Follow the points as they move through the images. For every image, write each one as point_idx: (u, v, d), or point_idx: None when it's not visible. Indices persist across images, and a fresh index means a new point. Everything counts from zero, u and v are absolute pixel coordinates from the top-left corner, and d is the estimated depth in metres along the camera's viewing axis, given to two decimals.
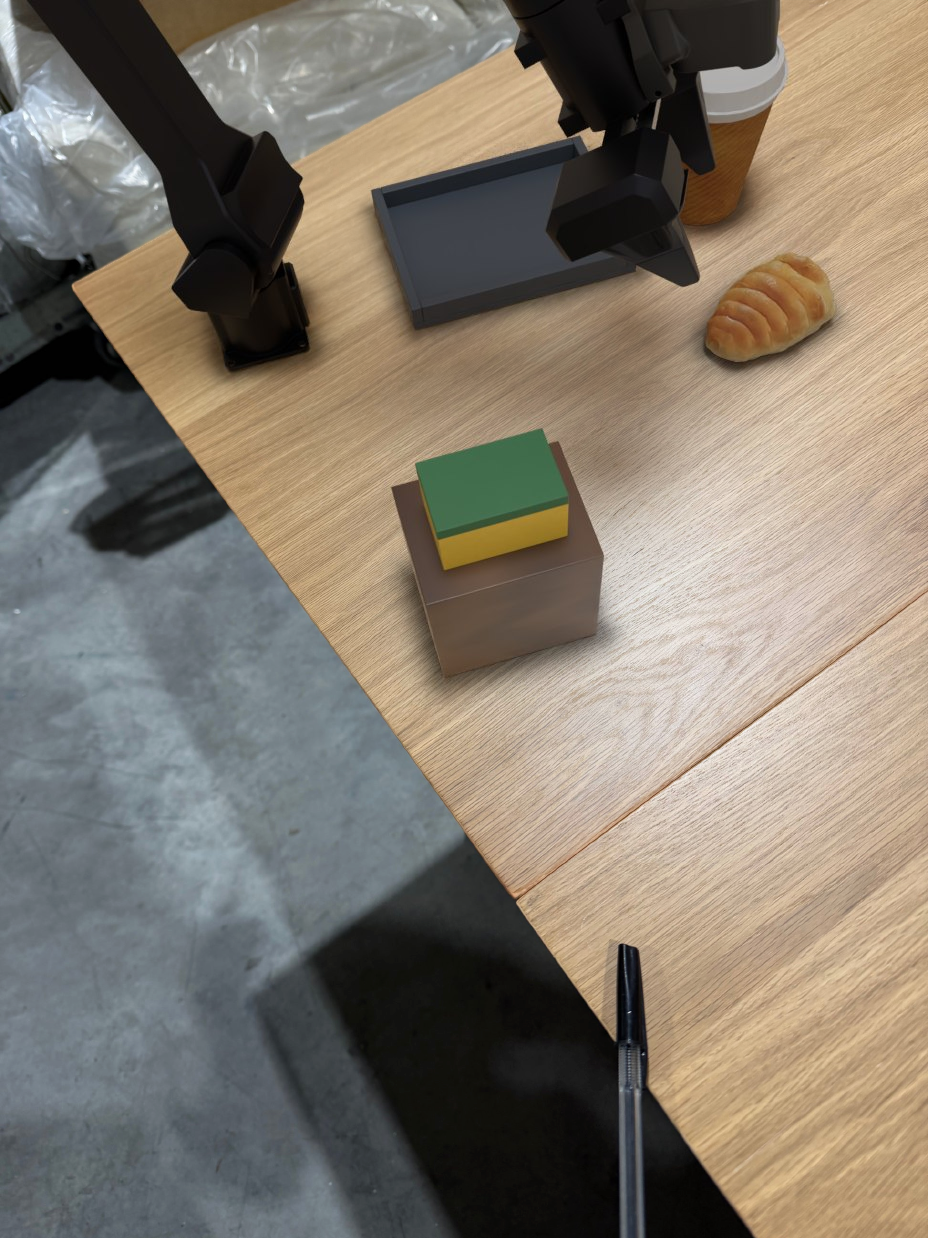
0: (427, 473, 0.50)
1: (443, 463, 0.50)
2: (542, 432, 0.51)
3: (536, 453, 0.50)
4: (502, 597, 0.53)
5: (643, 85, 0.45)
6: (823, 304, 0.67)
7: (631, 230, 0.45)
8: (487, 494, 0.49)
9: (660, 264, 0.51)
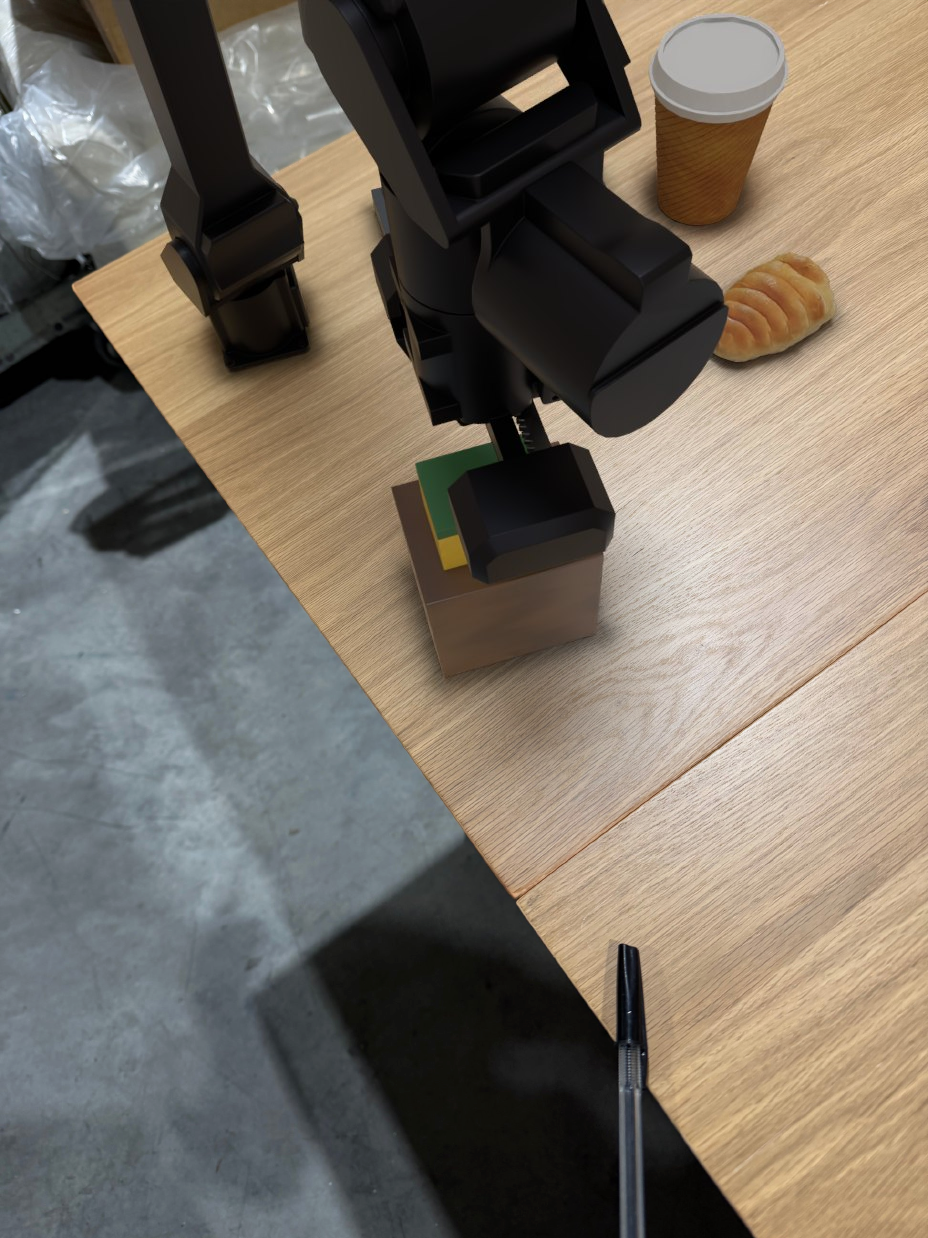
0: (427, 473, 0.50)
1: (443, 463, 0.50)
2: None
3: None
4: (502, 597, 0.53)
5: (545, 390, 0.40)
6: (823, 304, 0.67)
7: (569, 556, 0.40)
8: None
9: None
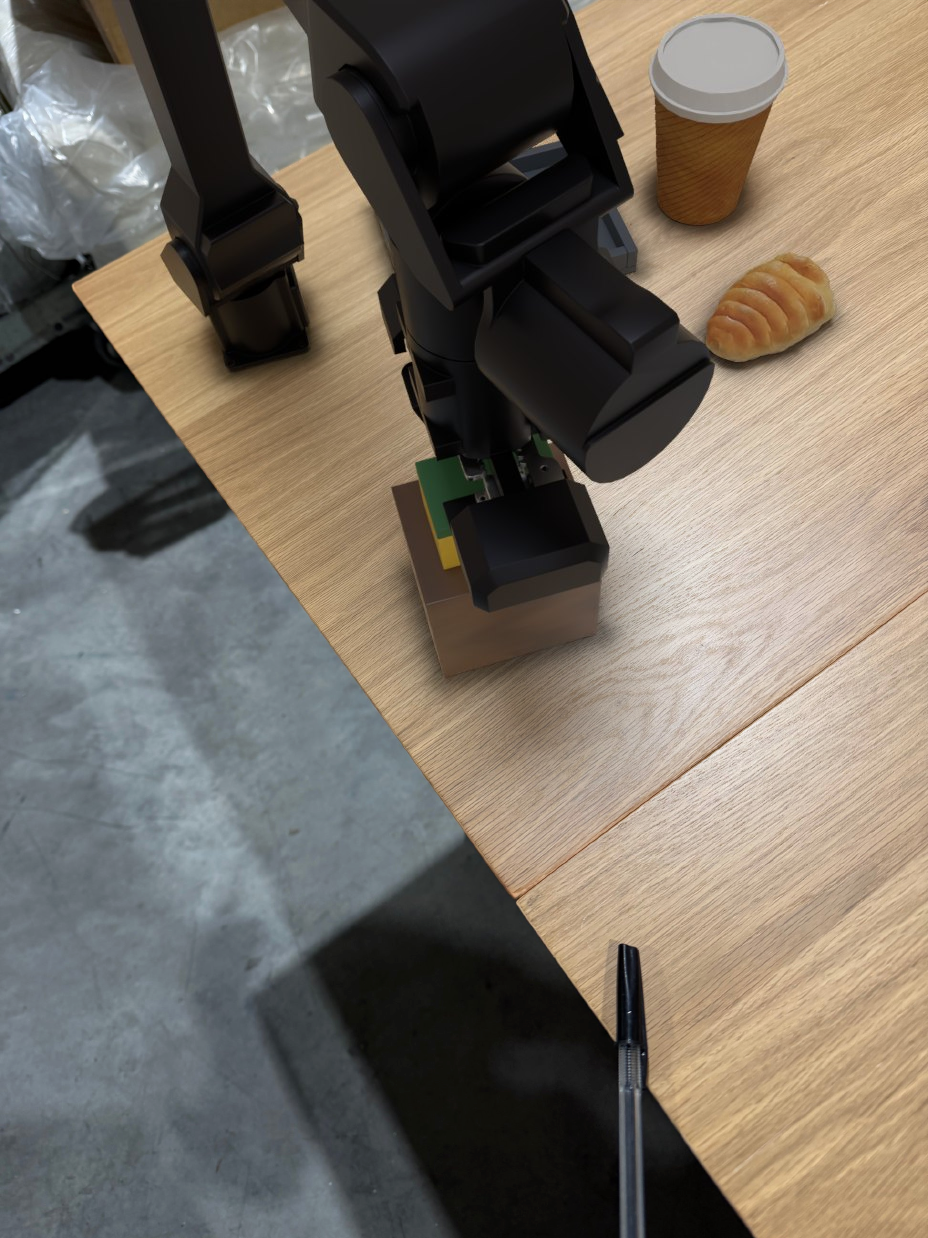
0: (427, 472, 0.50)
1: (443, 462, 0.50)
2: None
3: None
4: None
5: None
6: (823, 304, 0.67)
7: (565, 586, 0.42)
8: None
9: None
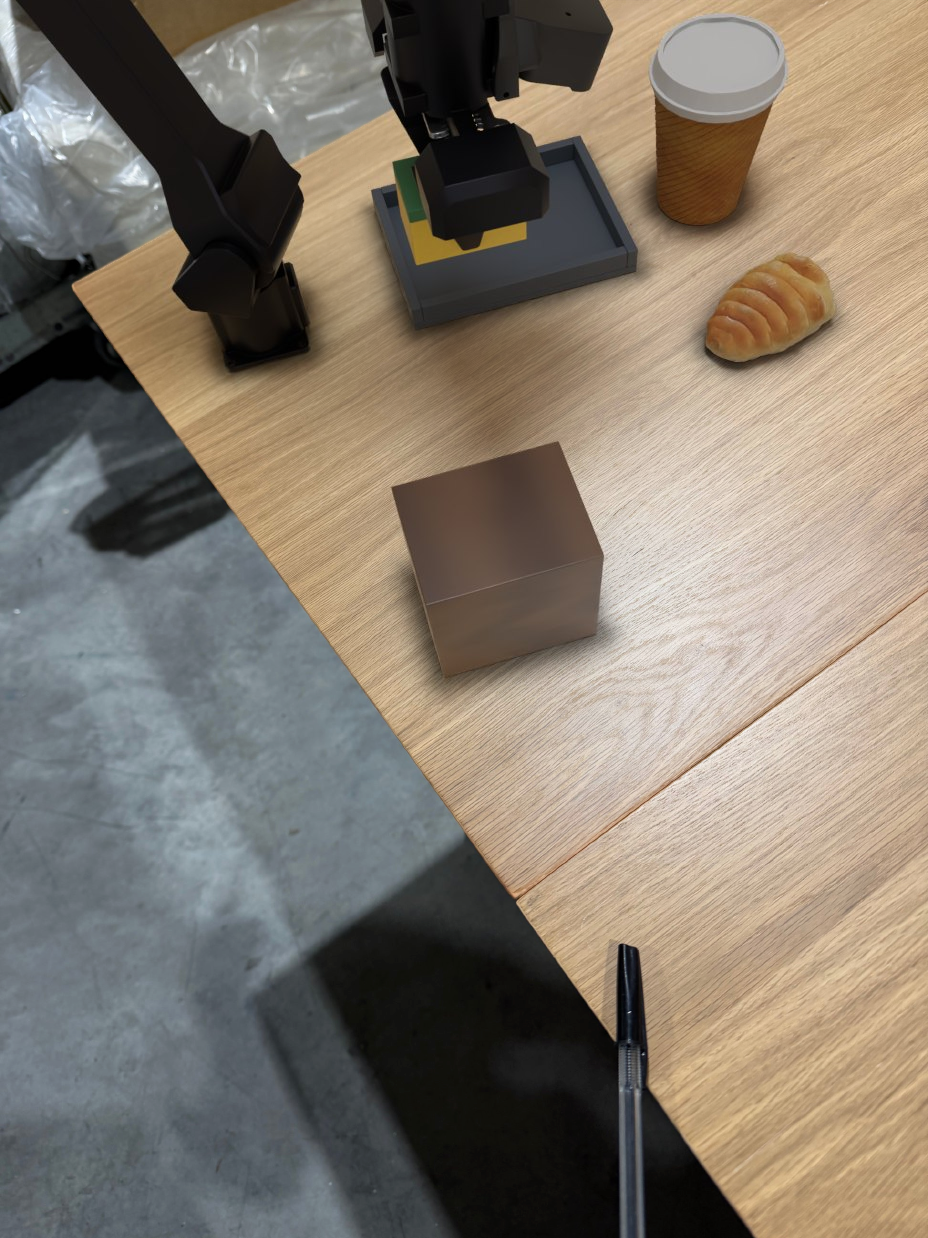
0: (402, 168, 0.57)
1: None
2: None
3: None
4: (502, 597, 0.53)
5: (497, 84, 0.49)
6: (823, 304, 0.67)
7: (511, 218, 0.48)
8: None
9: None
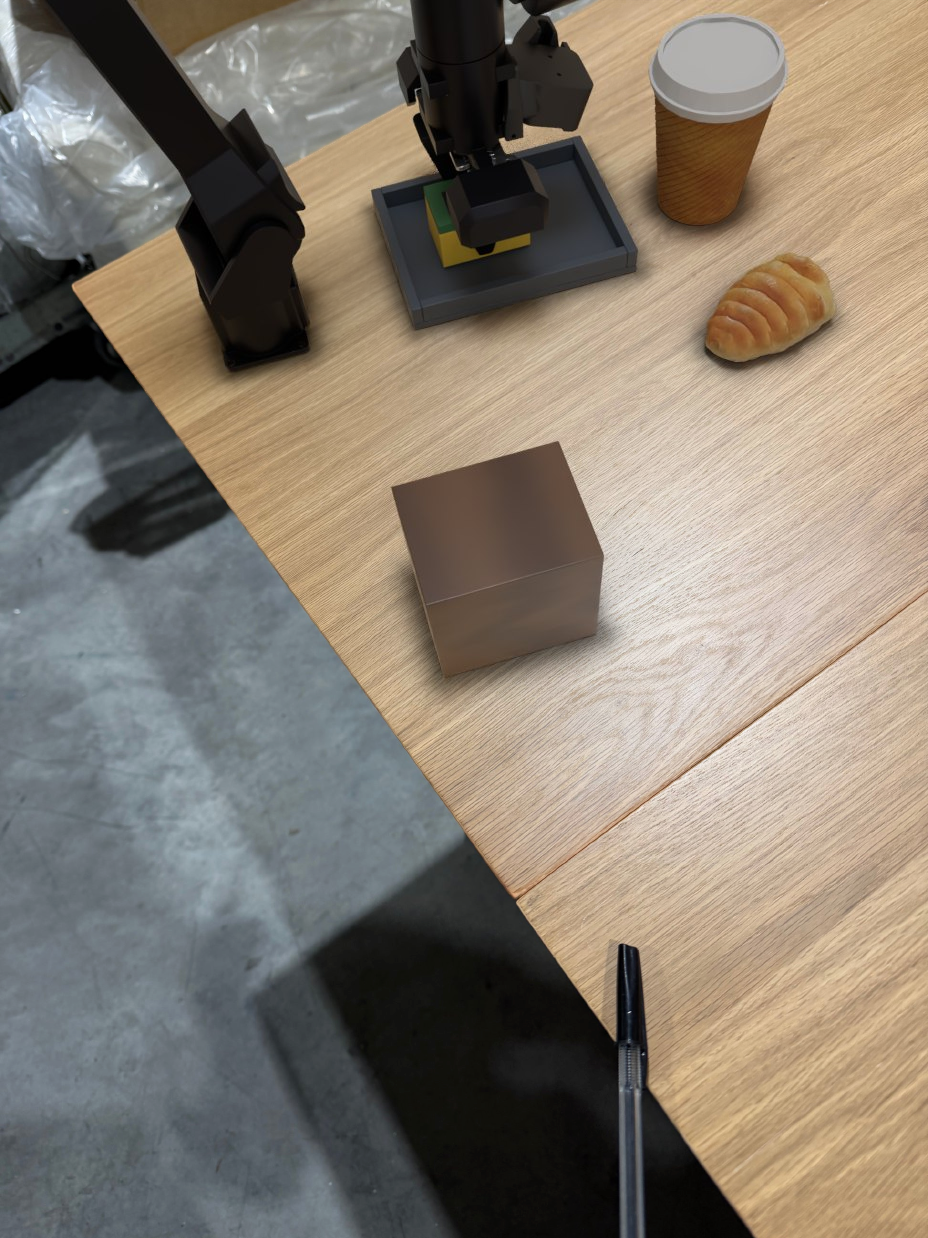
0: (432, 192, 0.72)
1: (443, 185, 0.73)
2: None
3: None
4: (502, 597, 0.53)
5: (507, 128, 0.64)
6: (823, 304, 0.67)
7: (521, 230, 0.64)
8: None
9: None
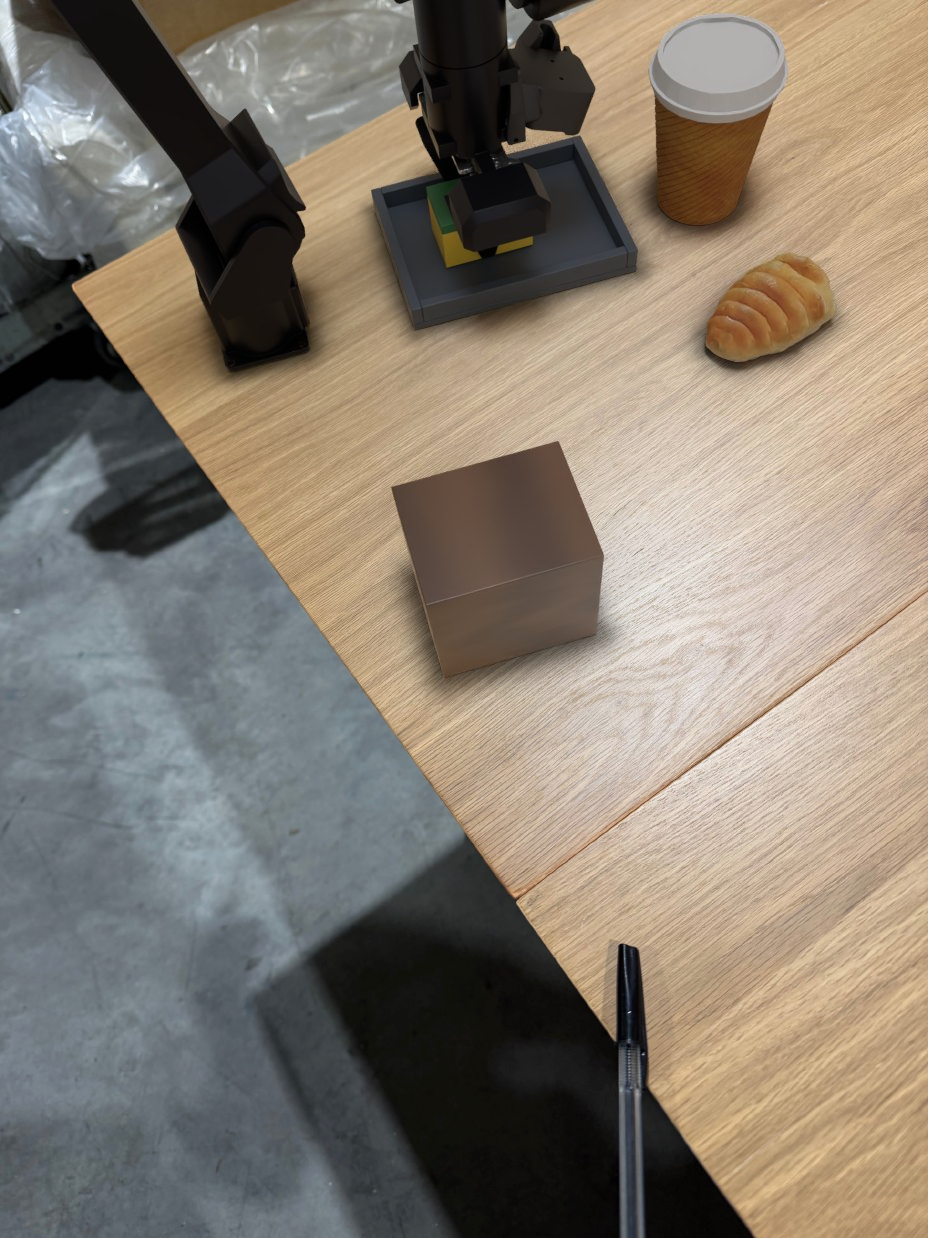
0: (434, 192, 0.72)
1: (445, 186, 0.73)
2: None
3: None
4: (502, 597, 0.53)
5: (509, 132, 0.65)
6: (823, 304, 0.67)
7: (523, 233, 0.64)
8: None
9: None
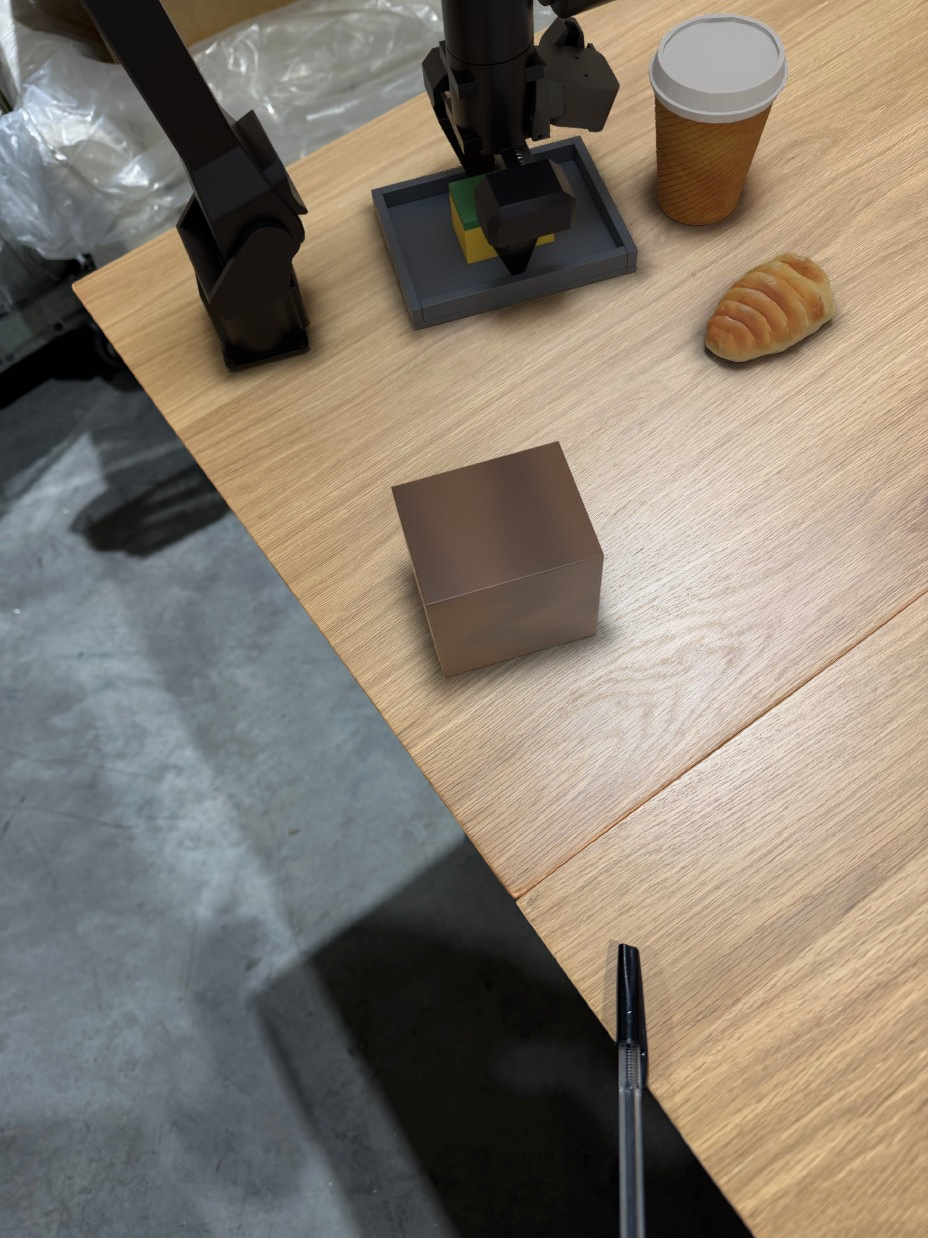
0: (457, 189, 0.73)
1: (468, 182, 0.73)
2: None
3: None
4: (502, 597, 0.53)
5: (534, 129, 0.65)
6: (823, 304, 0.67)
7: (548, 229, 0.65)
8: None
9: (513, 256, 0.71)
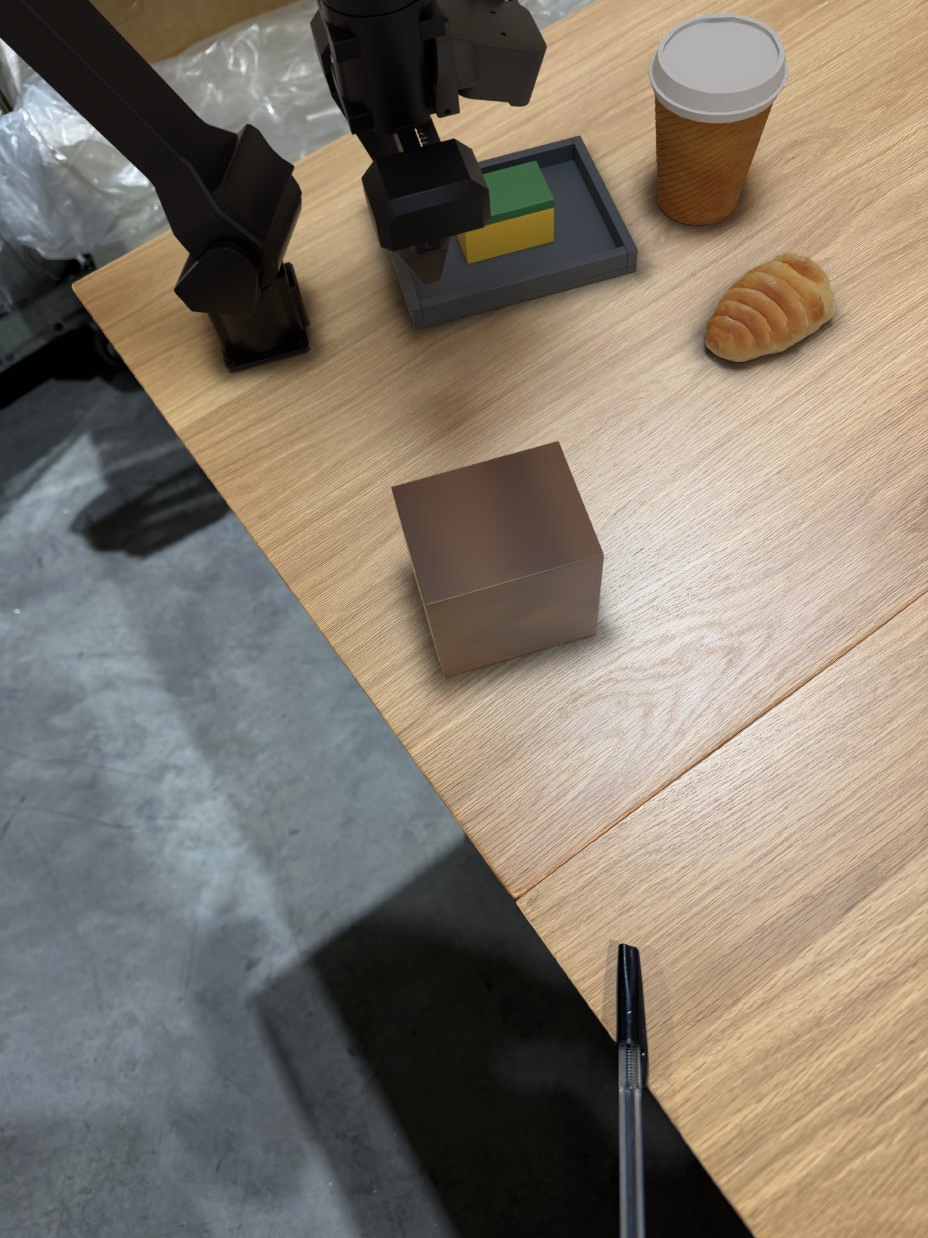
0: None
1: None
2: (536, 162, 0.73)
3: (532, 175, 0.73)
4: (502, 597, 0.53)
5: (438, 101, 0.52)
6: (823, 304, 0.67)
7: (455, 228, 0.51)
8: (498, 199, 0.72)
9: (422, 262, 0.57)
